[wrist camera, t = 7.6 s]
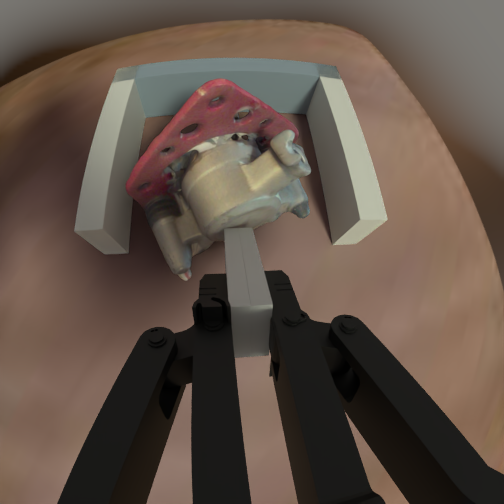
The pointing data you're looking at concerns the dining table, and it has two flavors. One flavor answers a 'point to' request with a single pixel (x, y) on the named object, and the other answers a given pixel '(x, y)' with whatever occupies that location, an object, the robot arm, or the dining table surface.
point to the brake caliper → (218, 172)
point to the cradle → (259, 85)
